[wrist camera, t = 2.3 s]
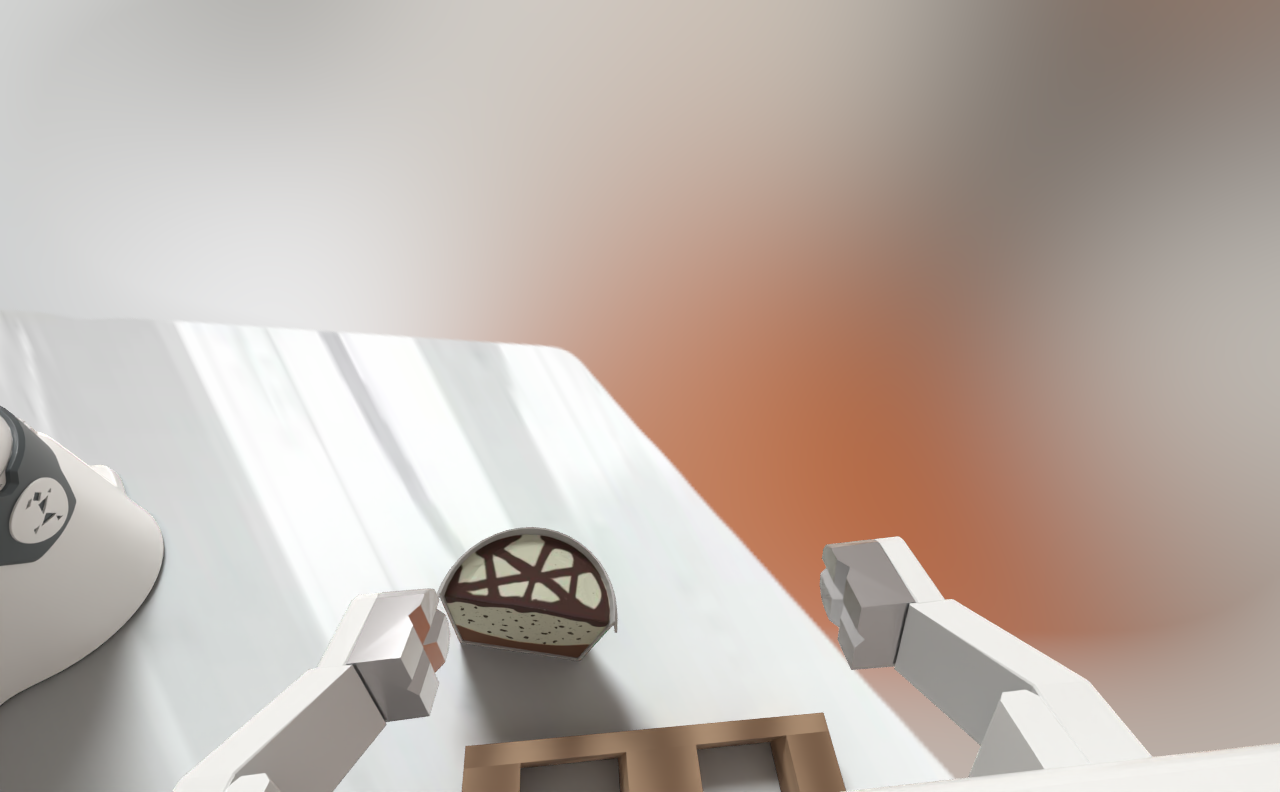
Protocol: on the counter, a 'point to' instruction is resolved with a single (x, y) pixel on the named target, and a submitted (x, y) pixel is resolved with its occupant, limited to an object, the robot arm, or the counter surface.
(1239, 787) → the robot arm
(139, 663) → the counter surface
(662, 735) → the socket rail
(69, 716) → the counter surface
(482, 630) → the food container
